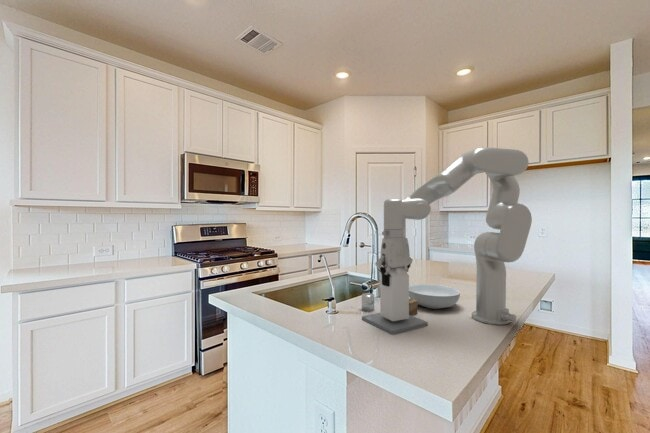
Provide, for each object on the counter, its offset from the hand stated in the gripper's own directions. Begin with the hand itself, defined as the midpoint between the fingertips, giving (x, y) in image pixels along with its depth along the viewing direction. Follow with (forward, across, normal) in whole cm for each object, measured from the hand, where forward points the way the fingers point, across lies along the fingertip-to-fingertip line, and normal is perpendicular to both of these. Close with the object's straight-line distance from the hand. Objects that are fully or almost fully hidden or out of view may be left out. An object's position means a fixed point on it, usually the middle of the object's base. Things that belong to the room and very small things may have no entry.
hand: (394, 283), depth 110 cm
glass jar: (+14, +1, +16) cm, 21 cm away
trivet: (+14, 0, 0) cm, 14 cm away
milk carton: (+12, 0, 0) cm, 12 cm away
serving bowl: (+14, +28, +7) cm, 32 cm away
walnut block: (+14, +12, +5) cm, 19 cm away
